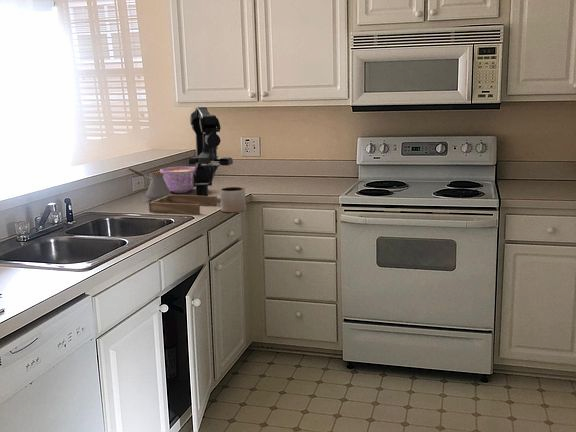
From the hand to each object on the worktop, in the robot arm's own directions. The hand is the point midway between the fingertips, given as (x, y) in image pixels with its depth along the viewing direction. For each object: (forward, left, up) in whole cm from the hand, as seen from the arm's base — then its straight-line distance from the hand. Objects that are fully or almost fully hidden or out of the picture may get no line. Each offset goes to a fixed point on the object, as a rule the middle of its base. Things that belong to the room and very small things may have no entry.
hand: (211, 180), depth 276 cm
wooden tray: (+1, -13, -13) cm, 18 cm away
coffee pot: (-15, -39, -13) cm, 44 cm away
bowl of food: (-39, -34, -13) cm, 53 cm away
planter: (+1, +10, -13) cm, 17 cm away
